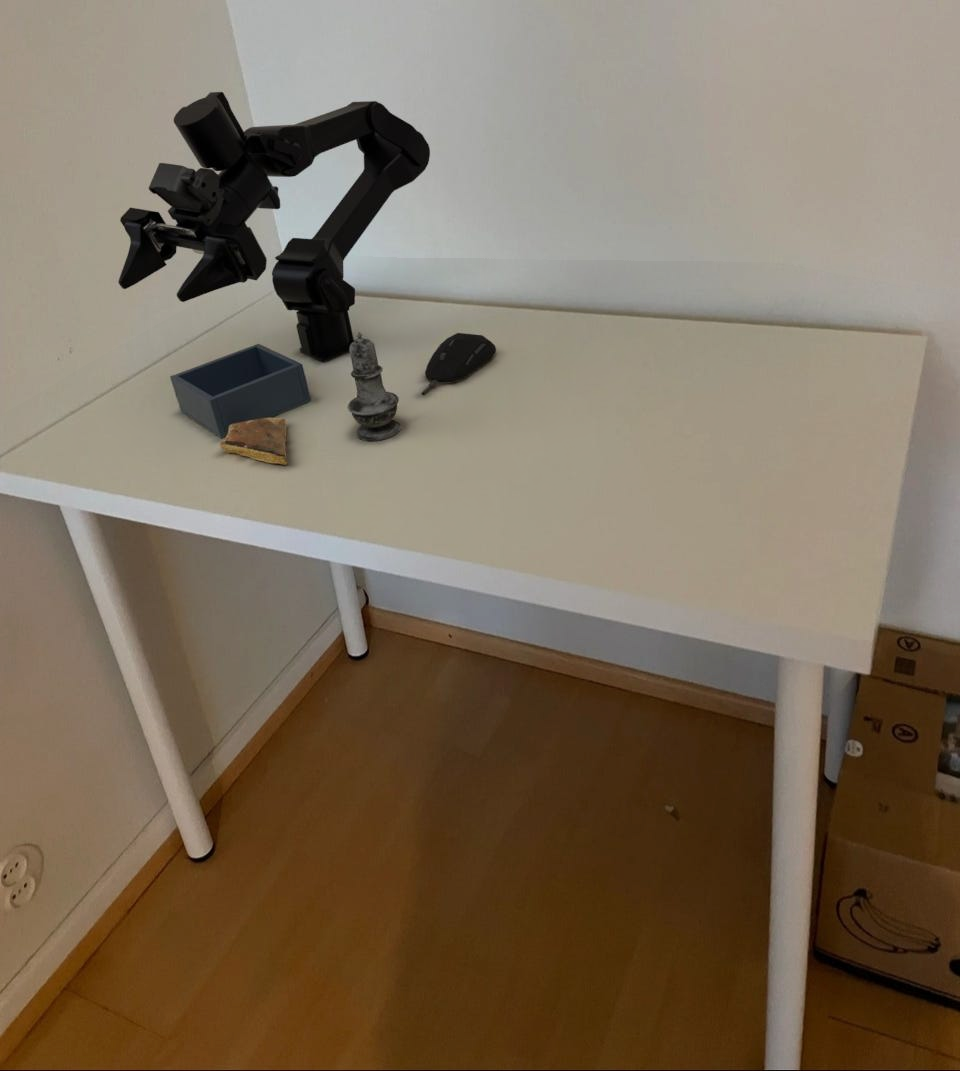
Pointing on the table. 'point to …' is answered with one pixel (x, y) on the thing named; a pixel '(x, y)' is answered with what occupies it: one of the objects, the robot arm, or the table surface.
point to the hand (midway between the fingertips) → (149, 292)
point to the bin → (240, 388)
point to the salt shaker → (371, 395)
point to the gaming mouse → (458, 358)
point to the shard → (258, 439)
